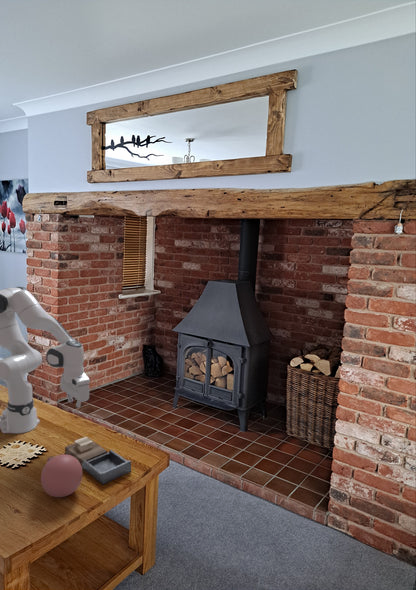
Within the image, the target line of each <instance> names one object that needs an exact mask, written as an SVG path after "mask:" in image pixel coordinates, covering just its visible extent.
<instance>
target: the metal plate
mask: <svg viewBox="0 0 416 590" xmlns="http://www.w3.org/2000/svg"><path fill="white" fill-rule="evenodd" d="M64 453H65V454H66V455H71V456H73V457H75V458H76V459H77V460H78V461H79V462H80V464H81V466H82V463H83V461H85V460H86V461H89V460H91V459H94V458H96V457H99V456H101V455H103V454H106V453H108V451H107V450H106V449H105V448H103V447H102V446H100V445H99V444H98V443H96V442H94V441H93V448H91V449H88V450H85V451H83V452H80V451H79V450H78V449H76V448H75V447H74V443H72V444H69V445H66V446H65V447H64Z"/></svg>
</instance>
